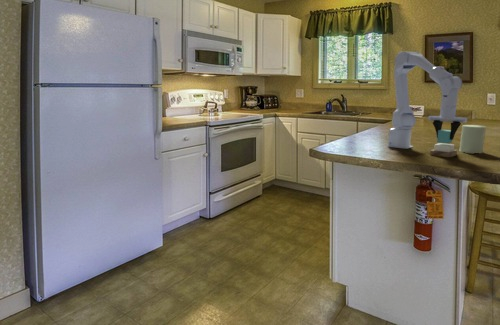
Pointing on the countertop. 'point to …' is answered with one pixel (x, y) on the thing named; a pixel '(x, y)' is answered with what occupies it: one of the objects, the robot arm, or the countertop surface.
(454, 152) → the walnut slab
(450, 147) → the white block
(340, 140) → the countertop surface
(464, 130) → the can
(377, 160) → the countertop surface
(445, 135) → the teal block
